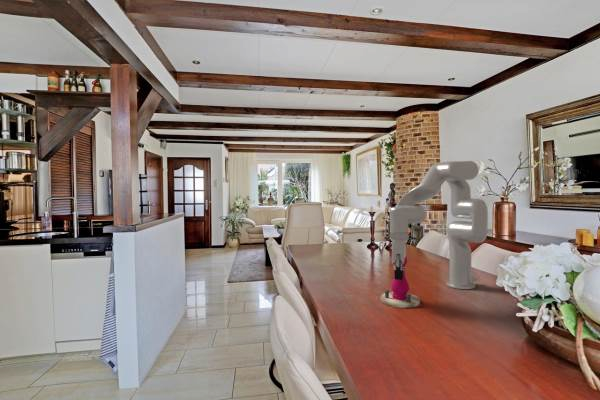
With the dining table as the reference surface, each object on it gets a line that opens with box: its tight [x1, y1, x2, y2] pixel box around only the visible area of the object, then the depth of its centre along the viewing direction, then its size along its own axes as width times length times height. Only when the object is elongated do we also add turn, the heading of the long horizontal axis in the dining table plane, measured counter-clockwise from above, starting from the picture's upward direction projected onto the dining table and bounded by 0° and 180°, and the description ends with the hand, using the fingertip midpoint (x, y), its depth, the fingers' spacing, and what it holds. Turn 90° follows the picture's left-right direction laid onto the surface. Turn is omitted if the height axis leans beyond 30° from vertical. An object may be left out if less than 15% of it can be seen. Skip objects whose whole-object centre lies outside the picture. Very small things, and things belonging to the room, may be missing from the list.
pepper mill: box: [390, 257, 410, 300], centre depth 135 cm, size 7×7×20 cm
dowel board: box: [379, 289, 421, 309], centre depth 135 cm, size 16×16×4 cm
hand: (399, 276), depth 135 cm, fingers open, 9 cm apart
